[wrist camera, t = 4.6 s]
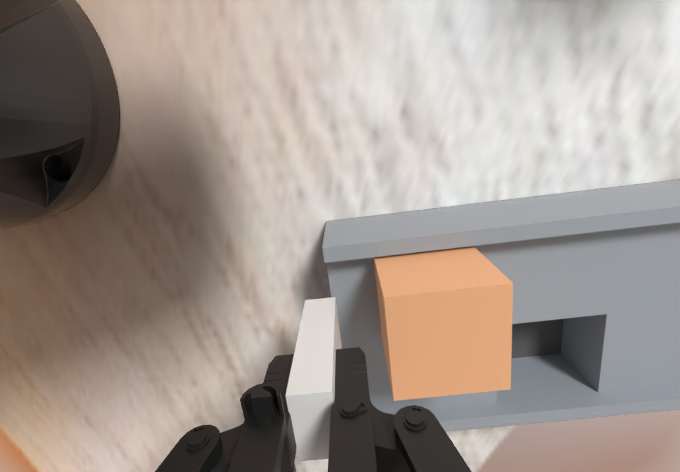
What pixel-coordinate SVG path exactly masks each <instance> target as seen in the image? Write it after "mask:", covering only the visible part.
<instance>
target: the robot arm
mask: <svg viewBox="0 0 680 472" xmlns="http://www.w3.org/2000/svg"><path fill="white" fill-rule="evenodd" d="M118 130H119V101H118V93H117V87H116V82H115V78H114V74H113V70H112V67H111V64H110V61H109V58H108V56H107V53H106V51H105V48H104V46H103V44H102V42H101V40H100V38H99V36H98V34H97V32H96V30H95V28H94V27H93V25H92V23H91V22H90V20H89V18H88V17H87V15H86V14H85V13H84V11H83V10H82V8H81V7H80V5H79V4H78V3H77V2H76V0H0V229H3V228H10V227H16V226H20V225H24V224H28V223H31V222H34V221H37V220H40V219H43V218H46V217H49V216H52V215H55V214H58V213H61V212H63V211H65V210H67V209H69V208H71V207H73V206H74V205H76V204H77V203H79V202H80V201H81V200H82V199H84V198H85V197H86V196H87V195H88V194H89V193H90V192H91V191H92V190H93V189H94V188H95V187H96V186H97V184H98V183H99V182H100V180H101V179H102V177H103V176H104V174H105V172H106V170H107V168H108V166H109V164H110V162H111V159H112V157H113V154H114V150H115V147H116V143H117V137H118ZM240 401H241V405H242V409H243V414H244V418H245V421H244V423H243V424H242V425H240V426H238V427H236V428H233V429H231V430H228V431H225V432H222V433H220V432H219V430H218V429H217V428H216V427H215V426H212V425H202V426H199V427H196V428H194V429H192V430H190V431H189V432H187V433H186V434H185V435H184V436H183V437H182V438H181V439H180V440H179V441H178V443H177V444H176V445H175V447H174V448H173V449H172V450H171V452H170V453H169V454H168V456H167V457H166V458H165V460H164V461H163V462H162V463H161V465H160V466H159V467H158V469H157V470H156V471H155V472H296V469H295V464H294V461H295V454H296V453H297V458H298V461H305V460H317V459H328V458H329V460H328V472H471V470H470V469H469V467H468V466H467V464H466V463H465V461H464V460H463V458H462V456H461V455H460V453H459V452H458V450H457V449H456V447H455V446H454V444H453V443H452V441H451V440H450V438H449V437H448V435H447V434H446V432H445V430H444V429H443V427H442V426H441V424H440V423H439V421H438V420H437V418H436V417H435V415H434V414H433V413H432V412H431V411H430V410H428V409H426V408H424V407H422V406H416V405H412V406H406V407H404V408H401V409H400V410H399V411H398V412H397V413H396V414H395V415H393V414H388V413H384V412H382V411H380V410H378V409H377V408H375V407H374V406H373V404H372V403H371V401H370V394H369V385H368V376H367V366H366V357H365V353H364V352H363V351H362V350H361V348H360V347H355V348H345V349H342V344H341V337H340V329H339V321H338V314H337V306H336V298H335V297H330V298H320V299H310V300H305V304H304V308H303V313H302V318H301V323H300V328H299V333H298V337H297V342H296V347H295V352H294V354H291V355H281V356H276V357H275V358H274V359H273V360H272V361H271V363H270V364H269V366H268V369H267V372H266V376H265V379H264V382H263V384H259V385H256V386H254V387H252V388H250V389H248V390H247V391H246V392H245V393H244V394H243V395H242V397H241V399H240Z"/></svg>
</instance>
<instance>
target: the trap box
mask: <svg viewBox="0 0 680 472" xmlns="http://www.w3.org/2000/svg"><path fill="white" fill-rule="evenodd" d="M468 246H474V247H475V248H476V249H477V250H478V251H479V252H480V253H481V254H482V255H483V256H485V257H486V258H487V259H488V260H489V261H490V262H491V263H492V264H493V265H494V266H495V267H496V268H497V269H499V270H500V271H501V272H502V273H503V274H504V275H505V276H506V277H507V278H508V279H509V280H510V281H511V282H512V283H513V312H512V354H511V389H510V390H499V391H489V392H479V393H469V394H459V395H449V396H439V397H428V398H418V399H408V400H398V401H394V399H393V394H392V389H391V384H390V379H389V373H388V368H387V363H386V358H385V352H384V347H383V342H382V337H381V328H380V318H379V308H378V298H377V288H376V279H375V269H374V259H373V257H381V256H390V255H398V254H407V253H416V252H425V251H433V250H442V249H451V248H460V247H468ZM322 250H323V257H324V263H326V265H327V272H328V279H329V286H330V293H331V297H335V298H336V306H337V314H338V321H339V329H340V337H341V344H342V349H345V348H355V347H360V348H361V350H362V351H363V352H364V353H365V357H366V366H367V376H368V385H369V394H370V401H371V403H372V404H373V406H374V407H375V408H377V409H378V410H380V411H382V412H384V413H388V414H393V415H395V414H396V413H397V412H398V411H399V410H400V409H401V408H404V407H406V406H412V405H416V406H422V407H424V408H426V409H428V410H430V411H431V412H432V413H433V414H434V415H435V417H436V418H437V420H438V421H439V423H440V424H441V426H442V427H443V429H444V430H445V432H447V431H457V430H468V429H478V428H489V427H500V426H510V425H521V424H531V423H542V422H552V421H563V420H573V419H584V418H594V417H604V416H614V415H626V414H637V413H647V412H657V411H668V410H679V409H680V179H678V180H670V181H661V182H653V183H645V184H636V185H628V186H619V187H611V188H602V189H594V190H586V191H577V192H569V193H560V194H552V195H543V196H535V197H527V198H518V199H510V200H501V201H493V202H484V203H476V204H468V205H459V206H451V207H442V208H434V209H425V210H417V211H409V212H400V213H392V214H383V215H375V216H366V217H358V218H350V219H341V220H333V221H326V225H325V232H324V239H323V246H322Z"/></svg>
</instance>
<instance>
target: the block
mask: <svg viewBox="0 0 680 472" xmlns="http://www.w3.org/2000/svg"><path fill="white" fill-rule="evenodd" d="M373 259H374V269H375V279H376V288H377V298H378V308H379V318H380V328H381V337H382V342H383V347H384V352H385V358H386V363H387V368H388V373H389V379H390V384H391V389H392V394H393V399H394V401H398V400H408V399H418V398H428V397H439V396H449V395H459V394H469V393H479V392H489V391H499V390H510V389H511V354H512V312H513V283H512V282H511V281H510V280H509V279H508V278H507V277H506V276H505V275H504V274H503V273H502V272H501V271H500V270H499V269H497V268H496V267H495V266H494V265H493V264H492V263H491V262H490V261H489V260H488V259H487V258H486V257H485V256H483V255H482V254H481V253H480V252H479V251H478V250H477V249H476V248H475V247H474V246H468V247H460V248H451V249H442V250H433V251H425V252H416V253H407V254H398V255H390V256H381V257H373Z"/></svg>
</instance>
